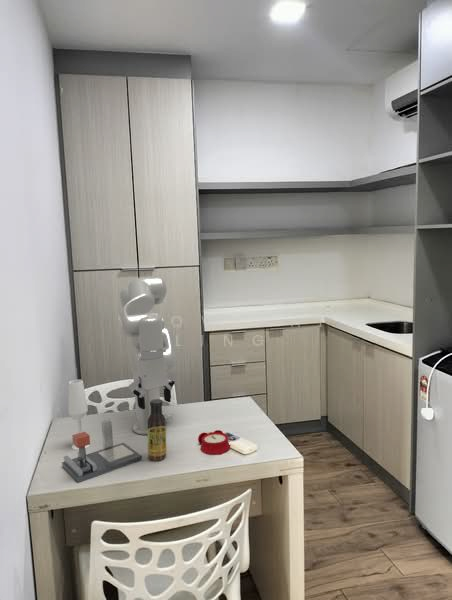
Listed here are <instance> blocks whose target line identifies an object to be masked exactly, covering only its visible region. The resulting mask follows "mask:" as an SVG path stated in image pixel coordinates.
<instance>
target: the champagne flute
mask: <svg viewBox="0 0 452 600" xmlns="http://www.w3.org/2000/svg"><path fill="white" fill-rule="evenodd" d="M84 385H85V384H84V381H83V380H82V379H74V380H70V381H69V382H68V414H69V416H70V417H71V418H72V419H74V420H75V421H77V434H78V433H81V432H83V431H82V421H81V420H83V418H85V416H86V415H87V413H88V411H89V407H88V403H87V402H88V401H87V397H86V392H85V391H86V390H85V386H84ZM90 446H91V442H90V445H87V446H85V449H87V448H88V447H90ZM71 449H73V450H79V448H77V447H76V446H75V445H74V444H73V443H72V445H71Z"/></svg>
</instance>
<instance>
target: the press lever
mask: <svg viewBox="0 0 452 600" xmlns="http://www.w3.org/2000/svg"><path fill="white" fill-rule="evenodd" d="M71 435H72V445H73V444H74V445H75V446H76V447H77V448H79V449H78V452H79V458H80V462H77V463H76V464H77V465H78V466H79V467H80V468H81V469H82V473H84V472H87V471H90V470H91V468H90V465H89V464H88V463H87V462H86V455H87V454H86V453H87V452H86V448H85V446H87V445H90V446H91V444H90V443H91V438H90V437H91V436H90V434H88V433H87V432H86V431H82V432H81V433H78V432H77V433H75V434H71Z"/></svg>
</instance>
